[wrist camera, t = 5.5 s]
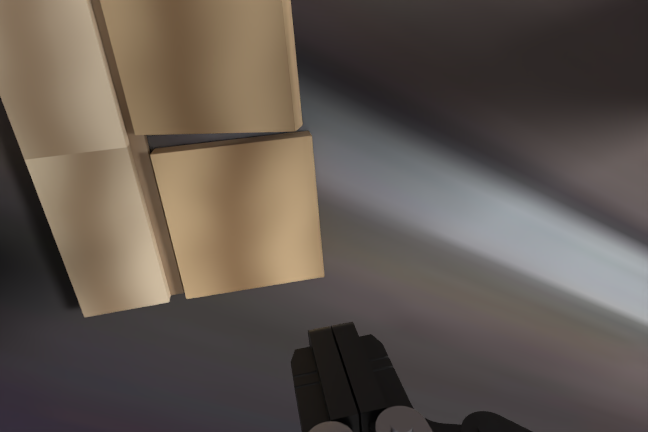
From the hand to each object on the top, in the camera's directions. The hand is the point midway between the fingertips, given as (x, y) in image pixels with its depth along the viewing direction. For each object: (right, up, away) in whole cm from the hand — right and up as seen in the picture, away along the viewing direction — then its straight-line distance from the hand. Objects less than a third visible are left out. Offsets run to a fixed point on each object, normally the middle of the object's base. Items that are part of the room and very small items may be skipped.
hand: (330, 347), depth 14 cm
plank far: (-5, +4, +10) cm, 12 cm away
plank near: (-5, +12, +5) cm, 14 cm away
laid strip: (-12, +8, +7) cm, 16 cm away
